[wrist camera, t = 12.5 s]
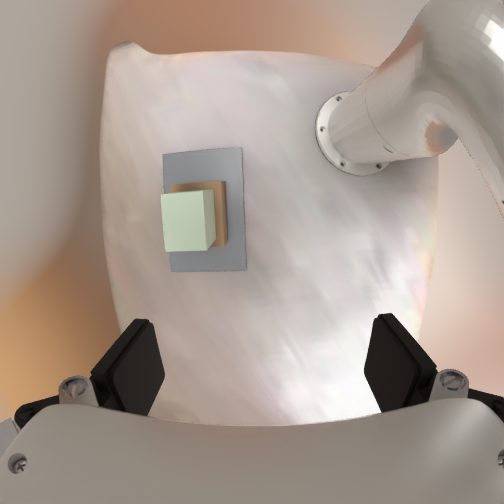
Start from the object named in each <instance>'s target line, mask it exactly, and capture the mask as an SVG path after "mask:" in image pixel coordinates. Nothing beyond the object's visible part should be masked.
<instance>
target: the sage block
mask: <svg viewBox="0 0 504 504" xmlns="http://www.w3.org/2000/svg"><path fill="white" fill-rule="evenodd" d="M160 196H161V210H162V222H163V233H164V243H165V252H172V251H205V250H208V248H209V247H210V246H211V245H212V243H213V242H214V241H215V240H216V226H215V209H214V190H198V191H185V192H175V193H168V194H161V195H160Z"/></svg>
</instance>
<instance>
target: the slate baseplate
mask: <svg viewBox="0 0 504 504" xmlns="http://www.w3.org/2000/svg"><path fill="white" fill-rule="evenodd" d="M163 178H164V194H168V193H170V185H175V184H187V183H199V182H214V181H226V202H227V223H228V241H227V243H226V245H225V247H209V248H208V250H205V251H172V252H169V254H170V263H171V271H172V272H209V271H246V269H247V268H246V245H245V220H244V195H243V169H242V148H241V147H239V148H223V149H210V150H198V151H188V152H179V153H171V154H163Z"/></svg>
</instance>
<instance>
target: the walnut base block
mask: <svg viewBox="0 0 504 504" xmlns="http://www.w3.org/2000/svg"><path fill="white" fill-rule="evenodd" d="M198 190H214V209H215V226H216V240H215V241H214V242H213V243H212V245H211V246H210V247H225V245H226V243H227V241H228V223H227V202H226V181H214V182H199V183H187V184H175V185H170V193H175V192H185V191H198Z"/></svg>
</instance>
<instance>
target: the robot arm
mask: <svg viewBox="0 0 504 504" xmlns="http://www.w3.org/2000/svg"><path fill="white" fill-rule="evenodd" d="M502 1H503V5H504V0H502ZM503 5H502V4H500V3H499V2H498V1H497V0H430V1H429V2H428V3H427V4H426V5H425V6H424V8H423V9H422V10H421V11H420V13H419V14H418V16H417V17H416V19H415V20H414V22H413V23H412V25H411V27H410V29H409V30H408V32H407V34H406V35H405V37H404V38H403V40H402V41H401V43H400V44H399V46H398V47H397V48H396V49H395V51H394V52H393V53H392V54H391V55H390V56H389V57H388V58H387V59H386V60H385V61H384V62H383V63H382V64H381V65H380V66H379V67H378V68H377V69H376V70H375V71H374V72H373V73H372V74H371V75H370V76H368V77H367V78H366V79H365V80H364V81H363V82H362V83H361V84H360V85H359V86H358V87H357V88H356V89H355V90H354V91H346V92H341V93H338V94H336V95H334V96H332V97H331V98H329V99H328V100H327V101H326V102H325V103H324V104H323V106H322V107H321V109H320V111H319V113H318V115H317V119H316V137H317V141H318V144H319V146H320V149H321V150H322V152H323V154H324V155H325V157H326V158H327V159H328V160H329V161H330V162H331V163H332V164H333V165H334V166H336V167H337V168H338V169H340V170H342V171H344V172H346V173H349V174H352V175H359V176H366V175H373V174H375V173H378V172H380V171H382V170H383V169H385V168H386V167H387V166H388V165H389V164H390V163H391V161H397V160H406V159H415V158H424V157H432V156H436V155H439V154H441V153H443V152H445V151H447V150H448V149H449V148H450V147H451V146H452V145H453V144H454V143H455V142H456V140H457V139H458V137H459V139H460V140H461V142H462V143H463V145H464V146H465V148H466V149H467V151H468V153H469V154H470V156H471V157H472V159H473V160H474V161H475V163H476V164H477V166H478V168H479V170H480V172H481V174H482V176H483V178H484V179H485V181H486V183H487V185H488V187H489V189H490V191H491V193H492V196H493V198H494V200H495V202H496V204H497V206H498V209H499V211H500V213H501V215H502V217H503V219H504V6H503ZM336 99H338V100H339V101H337V100H336ZM320 129H322V130H323V132H321V131H320ZM341 162H342V163H343V166H341V165H340V163H341ZM376 165H378V168H377V167H376ZM91 374H92V376H91V377H90V378H87V377H85V376H81V375H77V376H72V377H69V378H67V379H65V380H64V381H63V382H62V383H61V384H60V386H59V390H58V391H59V395H57V396H53V397H50V398H46V399H42V400H39V401H35V402H32V403H28V404H25V405H22V406H21V407H20V408H19V409H18V410H17V411H16V413H15V417H14V419H15V420H12V419H11V418H9V419H7V420H5V421H3V422H1V423H0V504H504V398H503V397H501V396H497V395H493V394H489V393H485V392H481V391H477V390H473V389H469V381H468V378H467V377H466V376H465V375H464V374H463V373H462V372H460V371H458V370H454V369H445V370H442V371H440V372H437V370H436V364H435V363H434V362H433V361H432V360H431V358H430V357H429V356H428V355H427V353H426V352H425V351H424V350H423V349H422V347H421V346H420V345H419V344H418V343H417V341H416V340H415V339H414V338H413V337H412V336H411V334H410V333H409V332H408V331H407V330H406V329H405V328H404V326H403V325H402V324H401V323H400V322H399V321H398V320H397V318H396V317H395V316H394V315H393V314H392V313H387V314H379V315H378V317H377V318H375V319H374V322H373V327H372V333H371V338H370V343H369V348H368V353H367V358H366V362H365V366H364V375H365V377H366V379H367V381H368V384H369V386H370V388H371V390H372V392H373V394H374V397H375V399H376V401H377V403H378V406H379V408H380V410H381V412H382V413H378V414H372V415H367V416H361V417H355V418H349V419H342V420H334V421H326V422H316V423H305V424H290V425H221V424H205V423H194V422H184V421H176V420H168V419H161V418H155V417H149V416H147V415H148V413H149V411H150V409H151V406H152V404H153V402H154V400H155V398H156V396H157V393H158V391H159V389H160V387H161V385H162V383H163V380H164V377H165V372H164V368H163V364H162V360H161V356H160V352H159V348H158V343H157V339H156V335H155V330H154V326H153V324H152V323H150V322H149V320H148V319H134V320H133V322H132V323H131V324H130V325H129V326H128V327H127V329H126V330H125V331H124V332H123V333H122V334H121V336H120V337H119V338H118V339H117V340H116V342H115V343H114V344H113V345H112V346H111V348H110V349H109V350H108V351H107V353H106V354H105V355H104V356H103V357H102V359H101V360H100V361H99V362H98V363H97V365H96V366H95V367H94V368H93V369H92V371H91Z"/></svg>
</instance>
